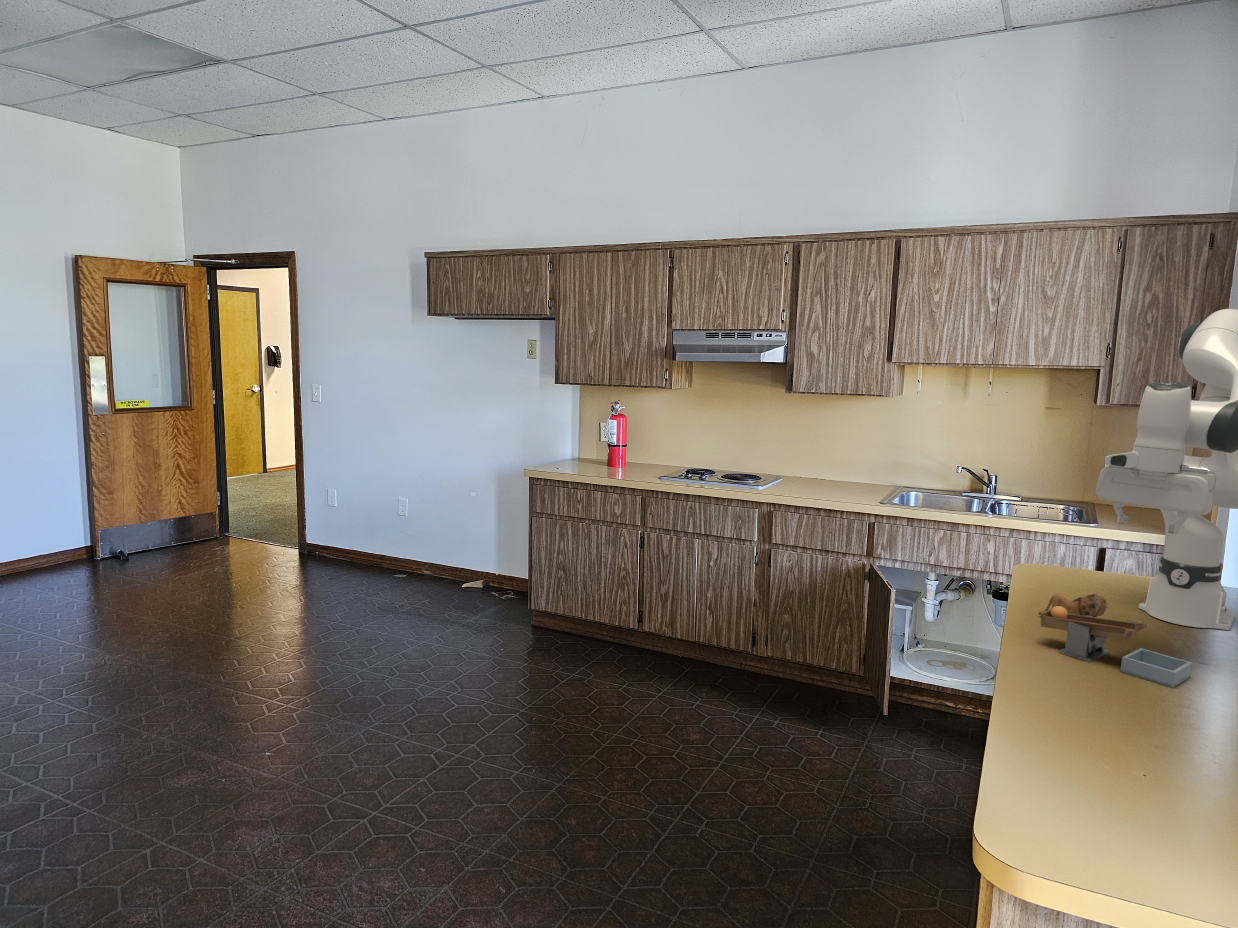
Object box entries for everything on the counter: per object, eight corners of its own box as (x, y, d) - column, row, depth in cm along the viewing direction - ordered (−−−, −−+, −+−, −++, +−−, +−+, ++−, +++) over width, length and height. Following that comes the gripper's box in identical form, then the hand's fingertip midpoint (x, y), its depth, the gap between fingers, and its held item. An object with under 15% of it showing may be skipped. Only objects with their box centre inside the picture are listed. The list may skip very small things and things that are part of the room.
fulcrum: (1078, 644, 173) (1082, 613, 172) (1109, 653, 168) (1113, 621, 167) (1059, 652, 167) (1062, 621, 166) (1089, 662, 162) (1093, 629, 161)
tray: (1138, 662, 164) (1140, 647, 163) (1190, 677, 157) (1192, 662, 156) (1120, 671, 158) (1122, 656, 158) (1172, 687, 151) (1175, 672, 151)
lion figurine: (1108, 633, 180) (1113, 594, 179) (1096, 637, 177) (1101, 598, 176) (1043, 614, 192) (1047, 577, 191) (1031, 617, 189) (1035, 580, 188)
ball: (1054, 618, 174) (1054, 603, 173) (1070, 621, 171) (1070, 606, 171) (1047, 620, 172) (1047, 605, 171) (1063, 623, 169) (1063, 608, 169)
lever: (1068, 615, 179) (1068, 602, 179) (1149, 627, 166) (1149, 613, 166) (1041, 626, 171) (1040, 612, 171) (1124, 639, 159) (1123, 624, 159)
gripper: (1223, 468, 157) (1212, 537, 159) (1109, 455, 173) (1101, 518, 175) (1212, 469, 153) (1201, 540, 155) (1097, 455, 169) (1088, 520, 171)
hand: (1147, 528), depth 165 cm, fingers open, 8 cm apart
